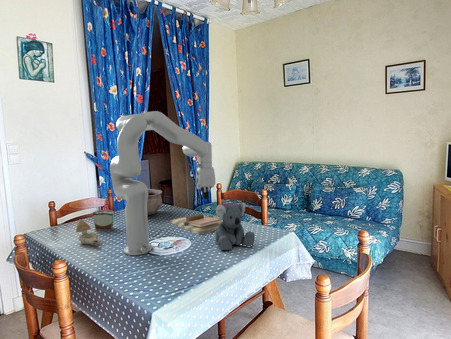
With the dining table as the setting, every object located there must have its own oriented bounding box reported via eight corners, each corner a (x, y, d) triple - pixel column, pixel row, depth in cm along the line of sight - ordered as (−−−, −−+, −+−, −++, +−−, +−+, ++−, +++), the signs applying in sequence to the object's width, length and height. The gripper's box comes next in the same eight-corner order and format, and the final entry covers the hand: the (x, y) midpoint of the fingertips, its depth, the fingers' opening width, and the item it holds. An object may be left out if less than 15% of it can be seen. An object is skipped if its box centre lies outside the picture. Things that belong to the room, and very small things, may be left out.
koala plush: (221, 253, 134) (219, 209, 132) (207, 240, 151) (206, 200, 148) (257, 247, 141) (256, 204, 138) (240, 235, 157) (239, 197, 155)
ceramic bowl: (153, 208, 217) (152, 187, 215) (169, 214, 201) (168, 191, 199) (122, 214, 203) (120, 192, 202) (136, 221, 187) (135, 196, 185)
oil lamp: (90, 235, 163) (88, 217, 162) (106, 246, 147) (105, 225, 146) (72, 240, 157) (71, 220, 156) (87, 251, 141) (85, 229, 140)
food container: (119, 226, 177) (118, 209, 176) (114, 230, 171) (113, 212, 170) (98, 226, 178) (97, 209, 177) (92, 230, 172) (91, 212, 171)
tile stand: (229, 226, 172) (229, 218, 171) (199, 234, 160) (198, 226, 159) (198, 216, 195) (198, 209, 195) (170, 222, 183) (170, 215, 182)
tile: (208, 216, 182) (208, 219, 182) (187, 221, 173) (187, 224, 173) (221, 218, 172) (221, 221, 172) (200, 223, 163) (200, 226, 163)
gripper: (197, 166, 159) (198, 202, 161) (220, 164, 169) (221, 198, 171) (189, 165, 165) (190, 199, 167) (212, 163, 175) (212, 196, 177)
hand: (205, 198), depth 169 cm, fingers closed
